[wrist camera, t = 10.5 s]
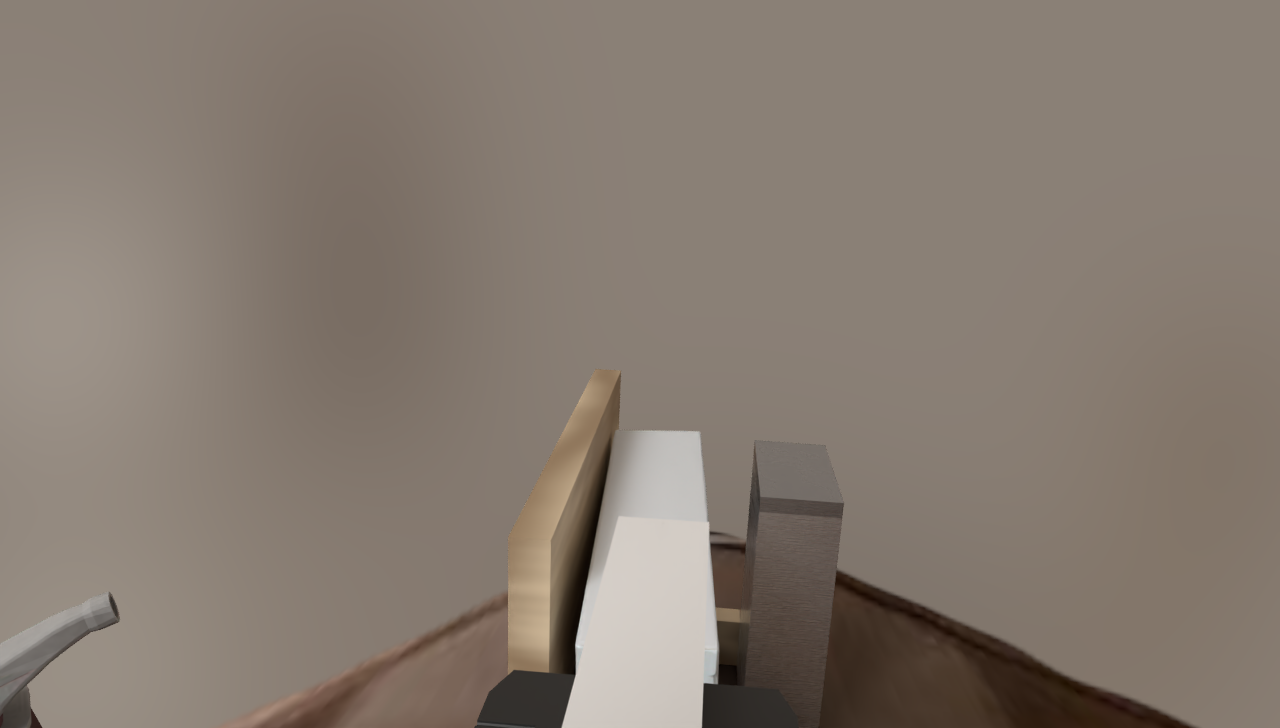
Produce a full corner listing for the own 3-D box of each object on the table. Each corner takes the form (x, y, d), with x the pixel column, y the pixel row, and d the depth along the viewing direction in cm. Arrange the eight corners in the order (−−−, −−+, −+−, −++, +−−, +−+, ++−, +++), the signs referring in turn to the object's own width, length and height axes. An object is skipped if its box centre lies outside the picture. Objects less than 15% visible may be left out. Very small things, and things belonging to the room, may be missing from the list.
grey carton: (801, 671, 54) (825, 445, 50) (814, 761, 46) (843, 503, 42) (736, 665, 54) (754, 440, 50) (738, 754, 47) (760, 496, 43)
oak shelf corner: (735, 651, 56) (757, 379, 51) (744, 972, 35) (783, 558, 30) (587, 638, 57) (595, 369, 52) (507, 944, 35) (508, 536, 31)
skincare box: (605, 673, 53) (614, 424, 49) (695, 678, 53) (712, 429, 49) (563, 1013, 33) (572, 638, 29) (709, 1023, 33) (739, 647, 29)
